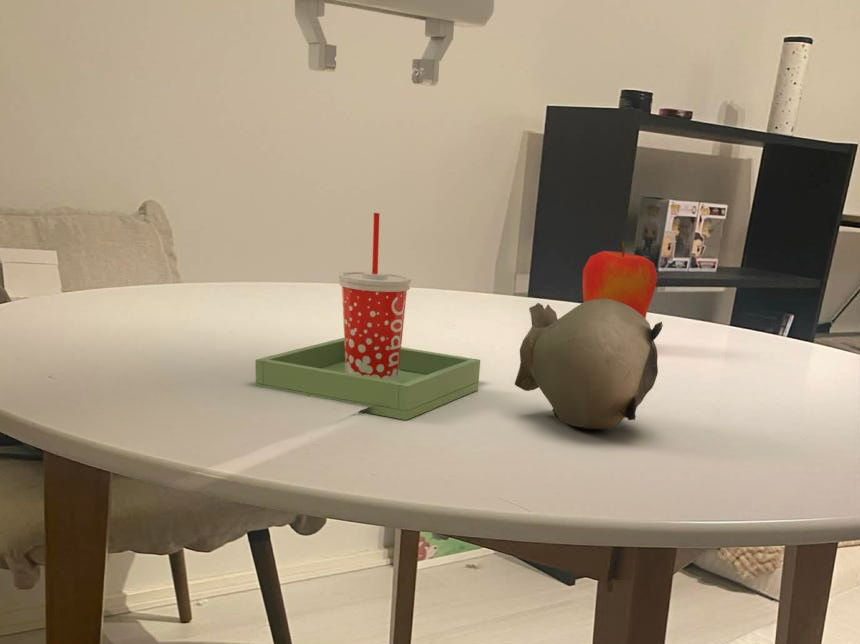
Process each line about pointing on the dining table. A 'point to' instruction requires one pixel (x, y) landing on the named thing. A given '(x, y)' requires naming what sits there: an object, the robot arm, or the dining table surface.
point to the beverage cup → (373, 318)
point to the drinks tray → (371, 379)
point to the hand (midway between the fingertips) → (375, 78)
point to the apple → (620, 279)
